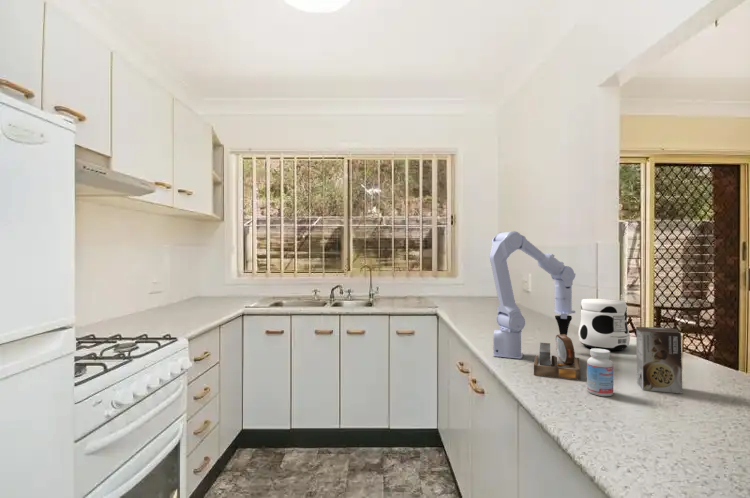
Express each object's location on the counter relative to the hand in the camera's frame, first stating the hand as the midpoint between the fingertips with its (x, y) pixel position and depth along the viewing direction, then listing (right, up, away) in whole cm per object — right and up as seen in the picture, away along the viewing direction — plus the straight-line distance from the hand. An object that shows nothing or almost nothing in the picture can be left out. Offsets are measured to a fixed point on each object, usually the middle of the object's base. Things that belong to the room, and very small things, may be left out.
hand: (563, 335), depth 151 cm
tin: (-5, -6, -12) cm, 15 cm away
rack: (-12, -6, -23) cm, 27 cm away
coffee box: (+8, -6, -39) cm, 40 cm away
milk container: (+19, -6, +7) cm, 21 cm away
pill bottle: (-10, -6, -43) cm, 44 cm away
